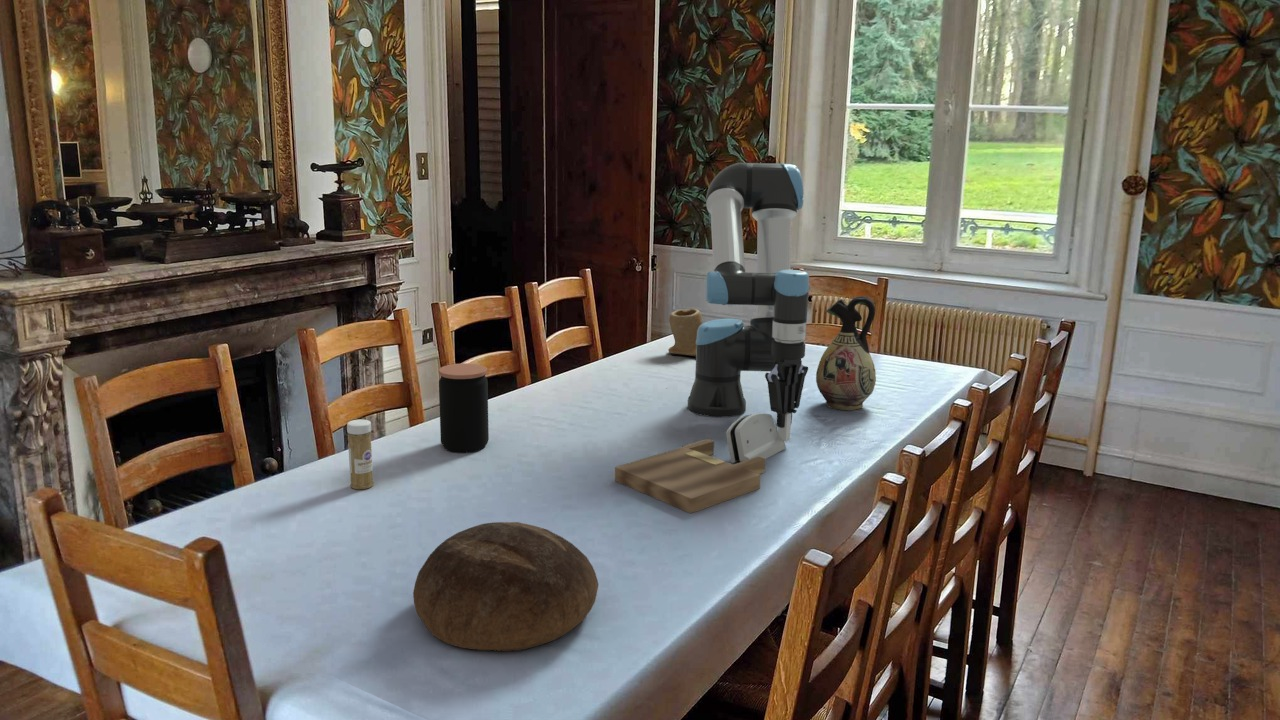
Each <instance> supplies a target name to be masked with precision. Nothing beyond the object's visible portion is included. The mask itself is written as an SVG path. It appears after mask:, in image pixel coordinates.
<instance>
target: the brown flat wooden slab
mask: <svg viewBox="0 0 1280 720" xmlns="http://www.w3.org/2000/svg"><path fill="white" fill-rule="evenodd" d="M714 448H715V441H714V440H712V439H710V438H709V439H708V438H707V439H703V440H699V441H696V442H693V443H689V444H686V445H682V447H679V448H676V449H672V450H669V451H666V452H662V453H658V454H654V455H652V456H649V457H645V458H642V459H637V460H635V461H631V462H627V463H625V464H621V465H618V466H615V467H614V481H615V482H617V483H619V484H622V485H623V486H626V487H628V488H630V489H632V490H635V491H638V492H640V493H643V494H645V495H647V496H650V497H651V498H654V499H657V500H659V501H662V502H663V503H666V504H668V505H670V506H673V507H675V508H677V509H680V510H682V511H684V512H685V513H686V512H687V513H688V514H693V513H695V512H698V511H701V510H704V509H707V508H709V507H712V506H715V505H718V504H720V503H723V502H726V501H729V500H732V499H735V498H738V497H740V496H743V495H746V494H749V493H752V492H754V491H757V490H759V489H760V488H761V476H762V475H761V474H764V473H765V471H766V460H767V459H764V458H761V457H759V456H758V457H755V458H752V459H749V460H746V461H742V462H740V461H739V462H736V463H734V464H733V463H731V462H727V461H725V460H722V459H719V458H717V457H714V456H711V455H713V454H714V452H715V451H714V450H715V449H714Z"/></svg>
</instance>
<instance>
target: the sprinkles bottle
mask: <svg viewBox="0 0 1280 720" xmlns="http://www.w3.org/2000/svg"><path fill="white" fill-rule="evenodd" d="M346 431H347V435H348V461H349V473H350V488H352V489H354V490H366V489H370V488H372V487H373V486H374V483H375V482H374V479H373V477H374V474H373V469H374V465H373V453H372V438H371V437H372V435H371V433H372V432H371V431H372V423H371V421H370V420H368V419H354V420H350V421H348V422H347V424H346Z"/></svg>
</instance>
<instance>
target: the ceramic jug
mask: <svg viewBox="0 0 1280 720" xmlns="http://www.w3.org/2000/svg"><path fill="white" fill-rule="evenodd" d="M857 305H861V306H865V307H867V309H868V315H867V318H866V320H865V323H864V325H863V327H862V329H861V331H860V333H859V331H858V329H857V326H856V322H861V321H862V320H863V317H862V315H861V314H860V312H859V311H858V310H857V309H856V307H855V306H857ZM825 312H826V313H828V314H830V315H832V316H834V317H837V318H839V320H840V321H841V323H842V325H841V328H840V330H839V331H838V333H837V334H836V336H834V338H833V339H832V341H831V342H830V343H829V345H828V346H827V347H826V349H825V350H824V352H823V353H822V355H821V357H820V360H819V363H818V365H817V369H816V373H815V377H816V378H815V383H816V385H817V389H818V391H819V393H820V394H821V396H822V397H823V399H824V400H825V404H826V406H827V407H828V408H830V409H833V408H834V410H840V411H854V410H858V409H862V408H863V407H864V405H863V404H864V402H865V401H866V400H868V398H869V397H870V396H871V395H872V394H873V392H874V389H875V386H876V382H877V376H876V375H877V373H876V367H875V364H874V360H873V358H872V356H871V353H870V350H869V349H870V348H869V344H868V338H867V335H868V333H869V331H870V328H871V326H872V323H873V322H874V318H875V317H876V315H875V314H876V305H875V303H874V301H873V300H872V299H871V298H870V297H867V296H856V297H853V298H852V299H851V300H850V301H849V303H848V304H846V302H845V301H844V299H842V298H840V299H839V300H838V301H836V302H835V303H834V304H833V305H831V306H829V308H828V309H827V310H826V311H825Z"/></svg>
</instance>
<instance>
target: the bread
mask: <svg viewBox="0 0 1280 720" xmlns="http://www.w3.org/2000/svg"><path fill="white" fill-rule="evenodd" d="M598 588H599V580H598V578H597V573H596V571H595V569H594V567H593V565H592V563H591V562H590V560H589V559H588V557H587V556H586V555H585V554H584V553H583V552H582V551H581V550H580V549H579V548H578V547H576V546H575V545H574V544H573V543H572V542H570V541H569V540H567V539H565V538H564V537H563V536H561V535H558V534H557V533H555V532H553V531H550V530H549V529H546V528H543V527H540V526H536V525H531V524H527V523H523V522H518V521H517V522H516V521H505V522H504V521H498V522H497V521H496V522H494V521H493V522H486V523H481V524H478V525H475V526H472V527H469V528H466V529H464V530H461V531H459V532H456V533H455V534H453V535H451V536H449V537H447V539H445V540H443V542H441V543H440V544H439V545H438V546H437V547H435V549H434V550H433V551H432V552H431V553H430V554H429V556H428V557H427V559H426V561H425V562H424V564H423V565H422V566H421V568H420V570H419V571H418V573H417V576H416V580H415V582H414V587H413V592H412V595H413V596H412V597H413V605H414V607H415V611H416V613H417V615H418V616H419V618H420V620H421V621H422V623H423V624H424V626H425V627H426V629H427V630H428V631H429V632H430V633H431V634H432V635H433V636H434V637H435V638H437V639H438V640H440V641H442V642H444V643H445V644H448V645H451V646H455V647H458V648H461V649H467V648H468V649H469V650H475V649H478V650H477V651H485V650H494V651H493V652H511V651H510V650H514V651H521V649H523V650H527V649H530V648H533V647H537V646H538V647H539V646H541V645H543V644H547V643H549V642H553V641H555V640H557V639H559V638H562V637H563V636H564V635H566V634H567V633H569V632H571V631H573V629H575V628H576V627H577V626H578V625H579V624H581V622H583V621H584V619H586V617H587V615H588V614H589V613H590V612H591V610H592V609H593V606H594V605H595V602H596V598H597V596H598ZM526 648H527V649H526ZM496 650H497V651H496ZM501 650H502V651H501Z"/></svg>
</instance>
